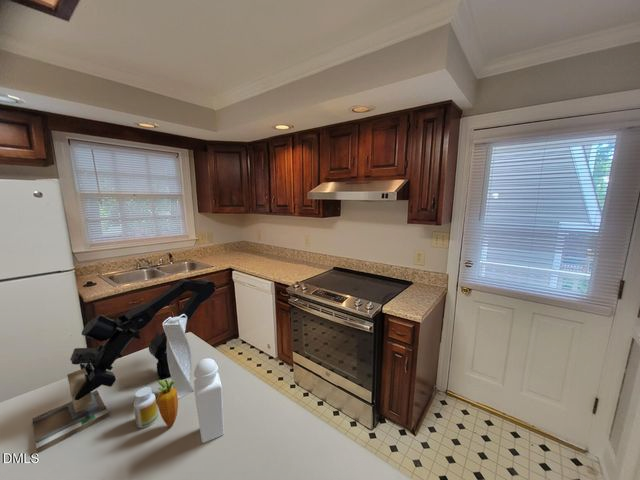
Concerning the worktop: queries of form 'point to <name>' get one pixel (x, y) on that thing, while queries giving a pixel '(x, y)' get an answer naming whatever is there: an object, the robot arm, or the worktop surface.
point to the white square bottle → (209, 399)
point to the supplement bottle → (145, 407)
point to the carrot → (168, 402)
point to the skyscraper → (178, 354)
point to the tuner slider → (85, 403)
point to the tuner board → (64, 424)
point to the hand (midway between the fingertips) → (74, 396)
